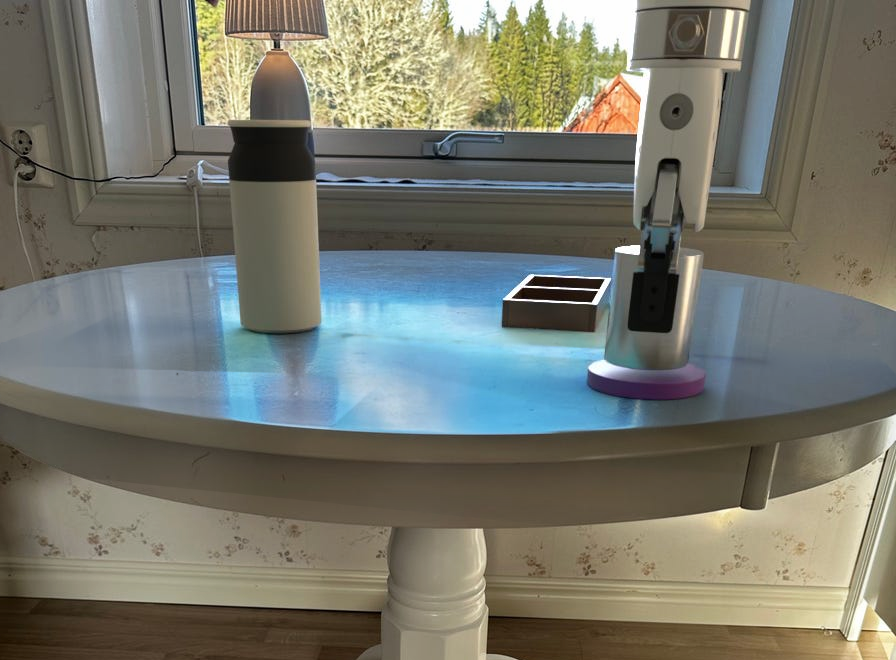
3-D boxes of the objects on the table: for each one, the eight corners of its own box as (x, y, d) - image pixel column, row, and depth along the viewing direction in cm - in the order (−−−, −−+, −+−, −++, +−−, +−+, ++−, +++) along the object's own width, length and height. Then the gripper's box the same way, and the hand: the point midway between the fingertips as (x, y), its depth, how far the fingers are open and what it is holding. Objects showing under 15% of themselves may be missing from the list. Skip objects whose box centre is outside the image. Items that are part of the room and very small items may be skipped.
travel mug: (313, 335, 91) (304, 120, 82) (231, 333, 91) (214, 119, 83) (327, 320, 98) (320, 120, 89) (251, 318, 98) (237, 119, 90)
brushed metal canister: (688, 355, 76) (703, 247, 72) (687, 373, 71) (704, 257, 67) (607, 350, 78) (618, 244, 74) (600, 367, 72) (612, 254, 68)
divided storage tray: (608, 308, 106) (611, 278, 104) (594, 338, 91) (597, 304, 89) (527, 303, 108) (529, 274, 106) (500, 332, 93) (502, 299, 91)
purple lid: (703, 375, 78) (705, 361, 77) (703, 403, 70) (706, 387, 70) (592, 368, 80) (593, 354, 79) (581, 394, 72) (582, 379, 72)
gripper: (750, 36, 56) (702, 348, 65) (739, 54, 71) (701, 306, 79) (620, 36, 58) (590, 341, 66) (636, 54, 72) (610, 301, 81)
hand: (651, 320), depth 73 cm, fingers closed on brushed metal canister, 6 cm apart
